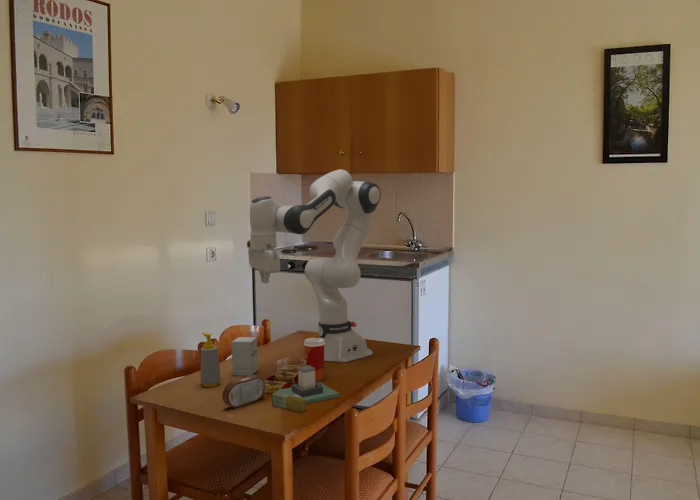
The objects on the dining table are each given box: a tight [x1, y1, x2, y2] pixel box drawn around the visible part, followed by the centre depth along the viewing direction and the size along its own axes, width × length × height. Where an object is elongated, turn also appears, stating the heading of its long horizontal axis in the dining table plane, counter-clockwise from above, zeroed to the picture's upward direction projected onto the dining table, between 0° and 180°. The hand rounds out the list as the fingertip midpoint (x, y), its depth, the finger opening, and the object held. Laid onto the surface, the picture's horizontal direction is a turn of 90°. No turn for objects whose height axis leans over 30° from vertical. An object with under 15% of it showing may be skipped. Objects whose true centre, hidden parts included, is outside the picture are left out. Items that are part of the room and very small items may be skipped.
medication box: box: [271, 391, 306, 413], centre depth 197 cm, size 12×3×4 cm, turn 53°
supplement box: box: [231, 336, 259, 377], centre depth 234 cm, size 7×7×13 cm
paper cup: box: [303, 337, 325, 382], centre depth 225 cm, size 8×8×14 cm
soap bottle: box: [200, 332, 222, 388], centre depth 221 cm, size 7×7×18 cm
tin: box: [222, 374, 266, 408], centre depth 202 cm, size 15×3×8 cm, turn 136°
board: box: [275, 381, 340, 405], centre depth 208 cm, size 16×14×3 cm
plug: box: [297, 365, 316, 390], centre depth 208 cm, size 4×4×8 cm
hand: (265, 282), depth 225 cm, fingers closed
